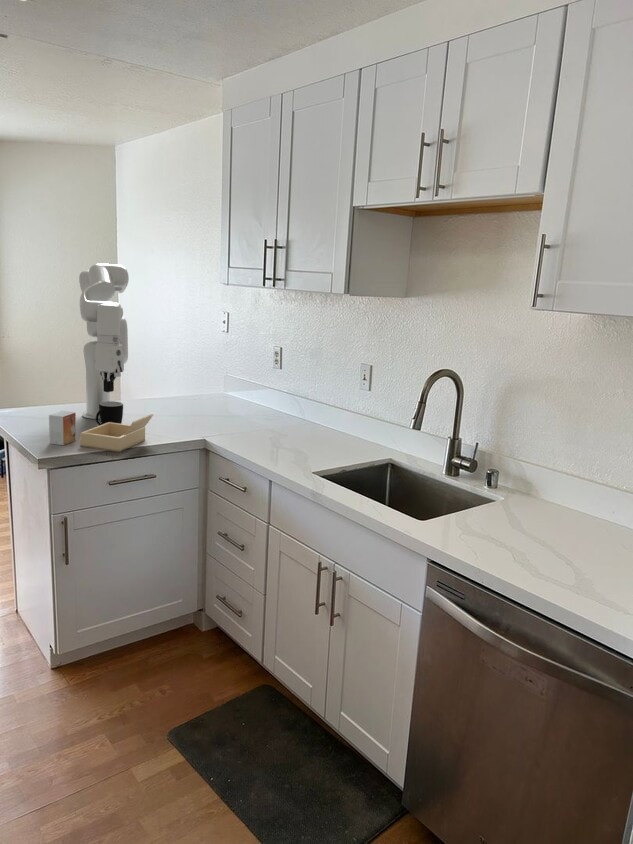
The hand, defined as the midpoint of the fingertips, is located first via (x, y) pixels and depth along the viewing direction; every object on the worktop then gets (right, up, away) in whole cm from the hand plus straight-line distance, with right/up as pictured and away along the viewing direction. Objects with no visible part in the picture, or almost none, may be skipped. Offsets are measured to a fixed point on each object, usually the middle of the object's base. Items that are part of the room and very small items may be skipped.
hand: (108, 391), depth 220 cm
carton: (0, -19, +5) cm, 19 cm away
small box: (-17, -18, +2) cm, 25 cm away
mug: (-8, -14, +23) cm, 28 cm away
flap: (+10, -12, +1) cm, 16 cm away
